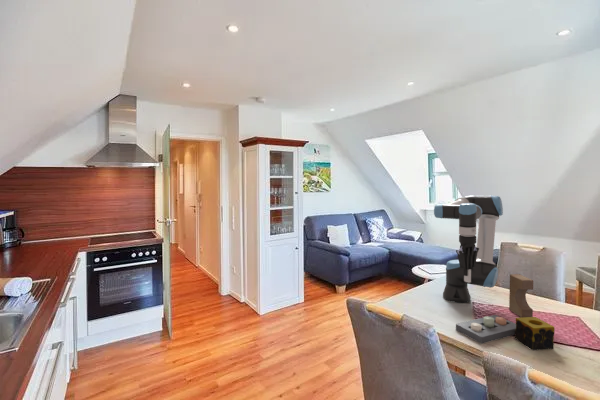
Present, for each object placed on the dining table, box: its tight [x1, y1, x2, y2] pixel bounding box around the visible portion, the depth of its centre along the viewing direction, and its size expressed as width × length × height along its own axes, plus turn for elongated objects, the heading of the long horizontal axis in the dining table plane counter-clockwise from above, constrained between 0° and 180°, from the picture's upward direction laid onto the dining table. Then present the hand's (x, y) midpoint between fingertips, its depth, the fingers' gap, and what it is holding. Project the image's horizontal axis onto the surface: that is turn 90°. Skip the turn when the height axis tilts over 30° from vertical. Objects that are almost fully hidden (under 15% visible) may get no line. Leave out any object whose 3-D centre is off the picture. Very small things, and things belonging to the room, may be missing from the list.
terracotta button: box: [496, 316, 507, 326], centre depth 152 cm, size 4×4×4 cm
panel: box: [455, 314, 516, 345], centre depth 149 cm, size 14×26×3 cm, turn 110°
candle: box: [513, 316, 555, 351], centre depth 137 cm, size 10×10×10 cm
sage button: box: [483, 315, 494, 329], centre depth 149 cm, size 4×4×4 cm
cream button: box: [471, 323, 482, 332], centre depth 146 cm, size 4×4×4 cm
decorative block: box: [508, 273, 534, 318], centre depth 167 cm, size 11×6×20 cm, turn 177°
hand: (467, 281), depth 155 cm, fingers closed
